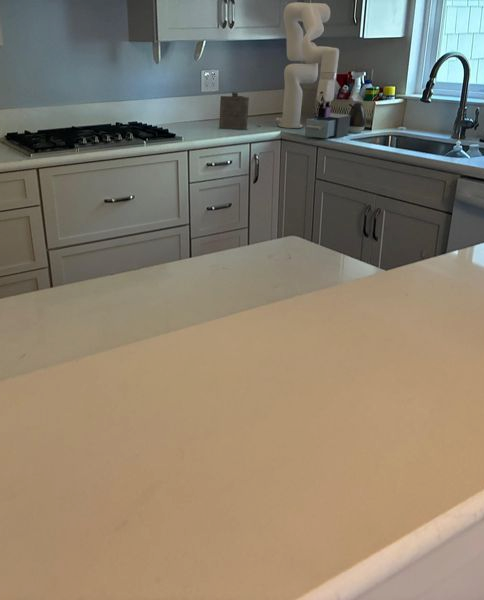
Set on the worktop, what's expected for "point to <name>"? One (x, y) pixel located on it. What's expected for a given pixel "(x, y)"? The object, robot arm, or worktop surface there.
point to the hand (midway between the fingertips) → (323, 116)
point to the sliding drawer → (320, 127)
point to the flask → (233, 112)
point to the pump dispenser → (357, 117)
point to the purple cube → (326, 112)
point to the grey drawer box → (340, 124)
